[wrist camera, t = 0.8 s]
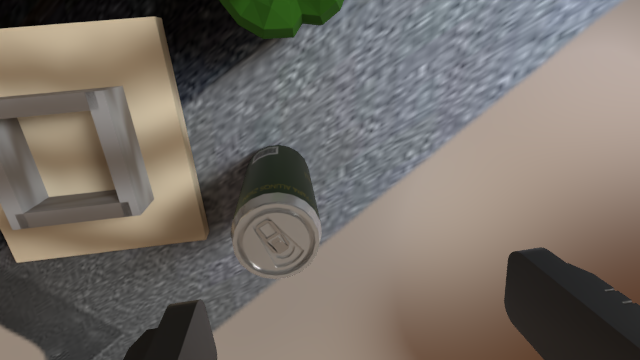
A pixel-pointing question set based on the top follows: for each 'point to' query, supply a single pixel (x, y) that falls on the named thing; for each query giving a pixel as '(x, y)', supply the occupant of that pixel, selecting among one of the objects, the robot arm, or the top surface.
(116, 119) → the collar board
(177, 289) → the top surface
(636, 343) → the robot arm
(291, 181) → the beer can
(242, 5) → the bell pepper
